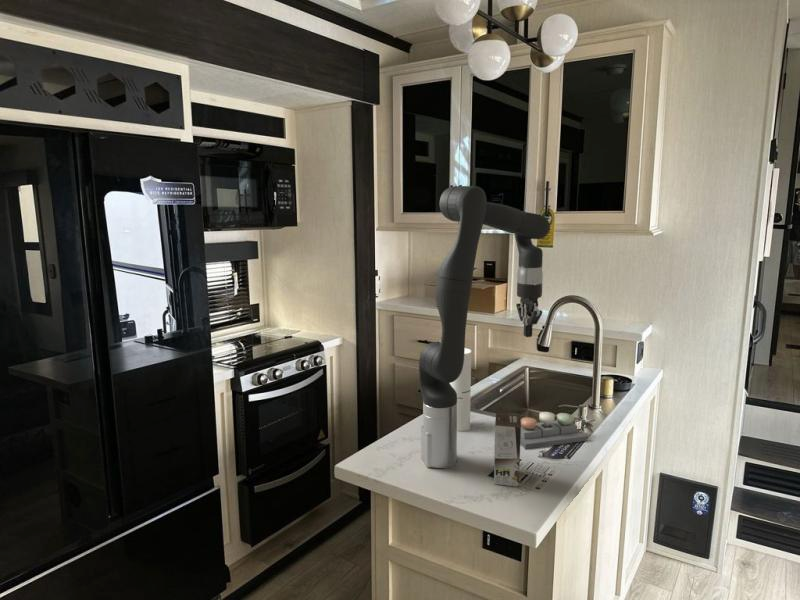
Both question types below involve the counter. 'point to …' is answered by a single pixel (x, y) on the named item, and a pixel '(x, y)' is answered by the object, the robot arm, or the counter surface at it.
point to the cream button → (546, 418)
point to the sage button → (564, 418)
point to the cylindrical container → (463, 393)
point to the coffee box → (507, 449)
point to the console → (550, 435)
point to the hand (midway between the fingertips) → (527, 336)
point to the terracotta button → (528, 423)
